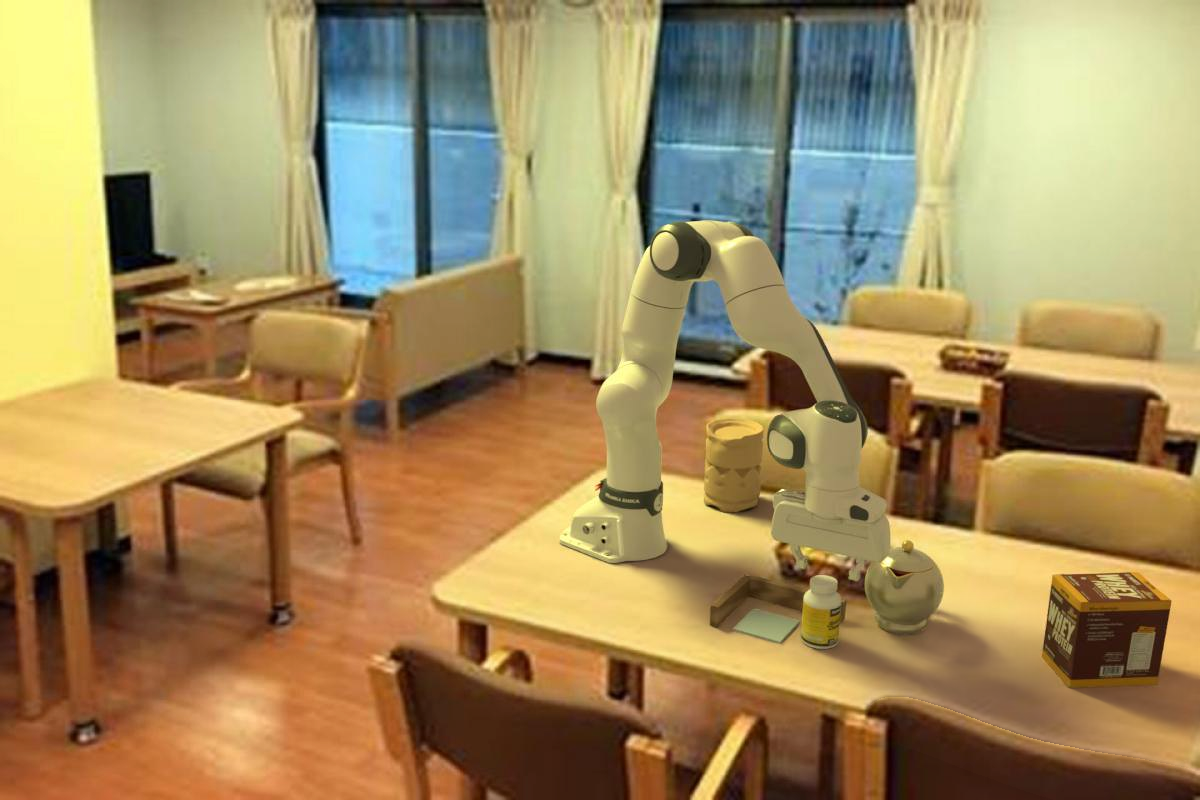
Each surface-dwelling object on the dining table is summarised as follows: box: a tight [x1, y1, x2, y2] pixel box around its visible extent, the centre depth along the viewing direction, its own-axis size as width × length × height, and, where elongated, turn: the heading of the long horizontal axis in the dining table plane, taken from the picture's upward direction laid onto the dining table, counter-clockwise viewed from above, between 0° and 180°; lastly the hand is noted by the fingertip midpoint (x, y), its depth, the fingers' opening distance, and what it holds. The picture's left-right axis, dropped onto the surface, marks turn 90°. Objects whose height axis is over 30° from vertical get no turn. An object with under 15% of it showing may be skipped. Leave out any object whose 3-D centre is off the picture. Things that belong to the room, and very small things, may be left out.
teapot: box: [864, 539, 945, 635], centre depth 211 cm, size 18×14×16 cm
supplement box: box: [1041, 571, 1172, 689], centre depth 195 cm, size 10×15×16 cm
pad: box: [732, 608, 800, 645], centre depth 210 cm, size 9×9×1 cm
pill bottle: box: [800, 574, 842, 650], centre depth 204 cm, size 6×6×12 cm
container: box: [703, 417, 765, 514], centre depth 263 cm, size 13×13×18 cm
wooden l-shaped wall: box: [709, 574, 848, 629], centre depth 212 cm, size 20×15×4 cm
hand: (827, 573), depth 202 cm, fingers open, 8 cm apart
